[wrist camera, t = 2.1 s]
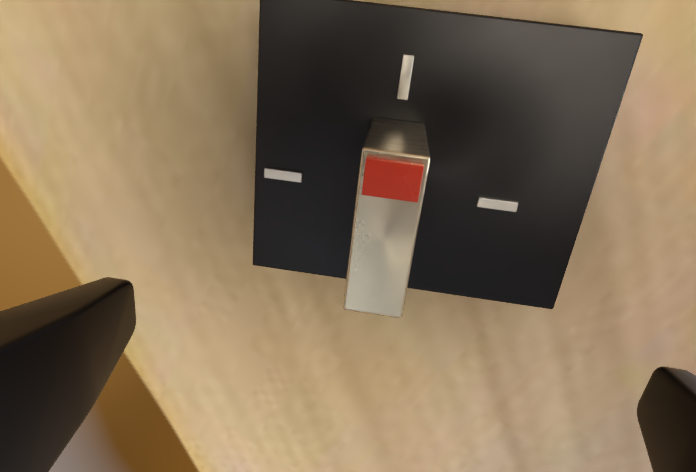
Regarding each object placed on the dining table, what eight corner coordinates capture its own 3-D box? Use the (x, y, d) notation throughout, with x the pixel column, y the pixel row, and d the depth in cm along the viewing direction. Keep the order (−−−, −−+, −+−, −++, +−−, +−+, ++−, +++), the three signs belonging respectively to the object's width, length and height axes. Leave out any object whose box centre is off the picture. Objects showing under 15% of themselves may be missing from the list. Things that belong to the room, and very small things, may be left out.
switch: (403, 253, 19) (401, 323, 14) (356, 247, 19) (341, 314, 15) (425, 123, 17) (431, 159, 12) (373, 116, 17) (360, 150, 12)
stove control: (531, 285, 22) (550, 325, 19) (270, 247, 23) (250, 280, 20) (607, 31, 18) (646, 33, 15) (281, -6, 18) (258, -11, 15)
